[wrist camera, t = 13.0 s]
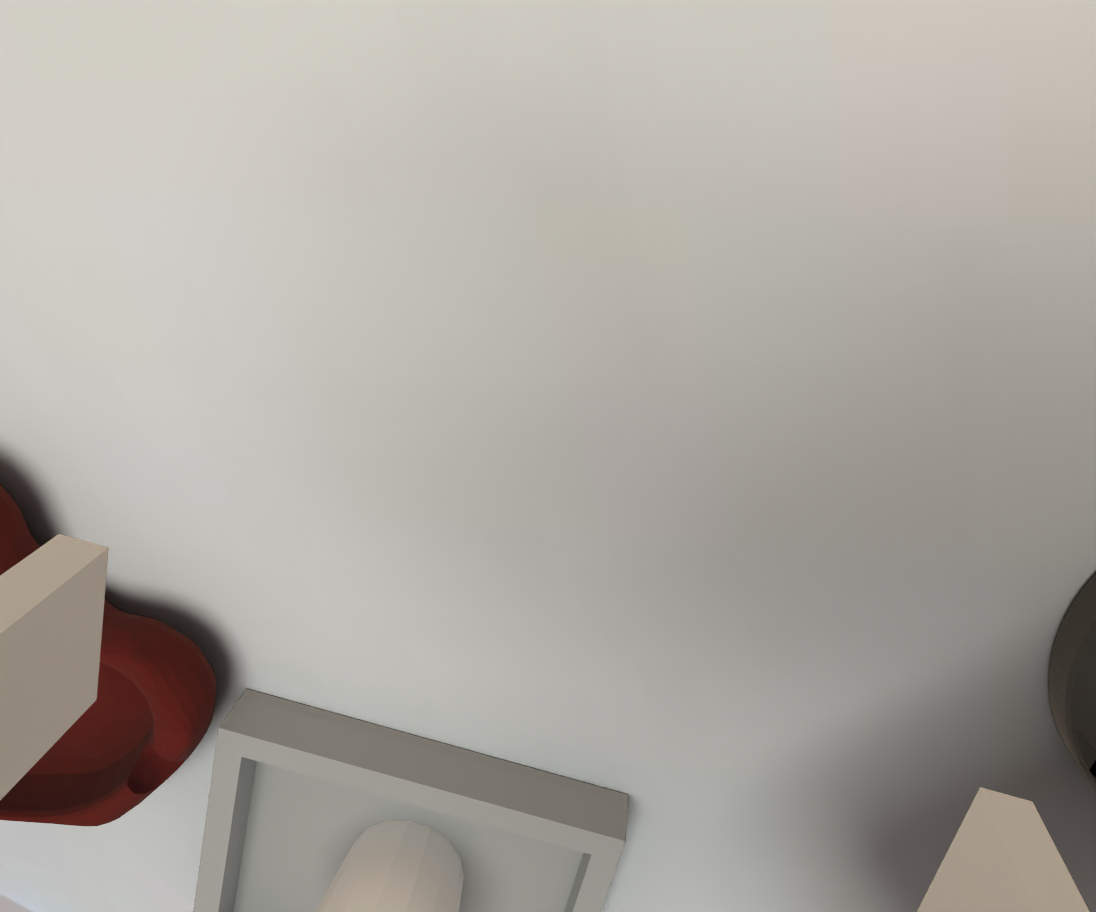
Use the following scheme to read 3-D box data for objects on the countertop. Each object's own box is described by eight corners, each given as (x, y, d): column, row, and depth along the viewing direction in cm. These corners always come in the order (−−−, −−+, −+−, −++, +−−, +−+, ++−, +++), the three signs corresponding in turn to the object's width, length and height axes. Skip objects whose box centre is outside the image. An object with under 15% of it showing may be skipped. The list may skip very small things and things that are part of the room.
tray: (628, 794, 44) (625, 841, 42) (554, 1011, 50) (547, 1065, 47) (246, 688, 45) (218, 727, 42) (213, 914, 50) (186, 962, 47)
